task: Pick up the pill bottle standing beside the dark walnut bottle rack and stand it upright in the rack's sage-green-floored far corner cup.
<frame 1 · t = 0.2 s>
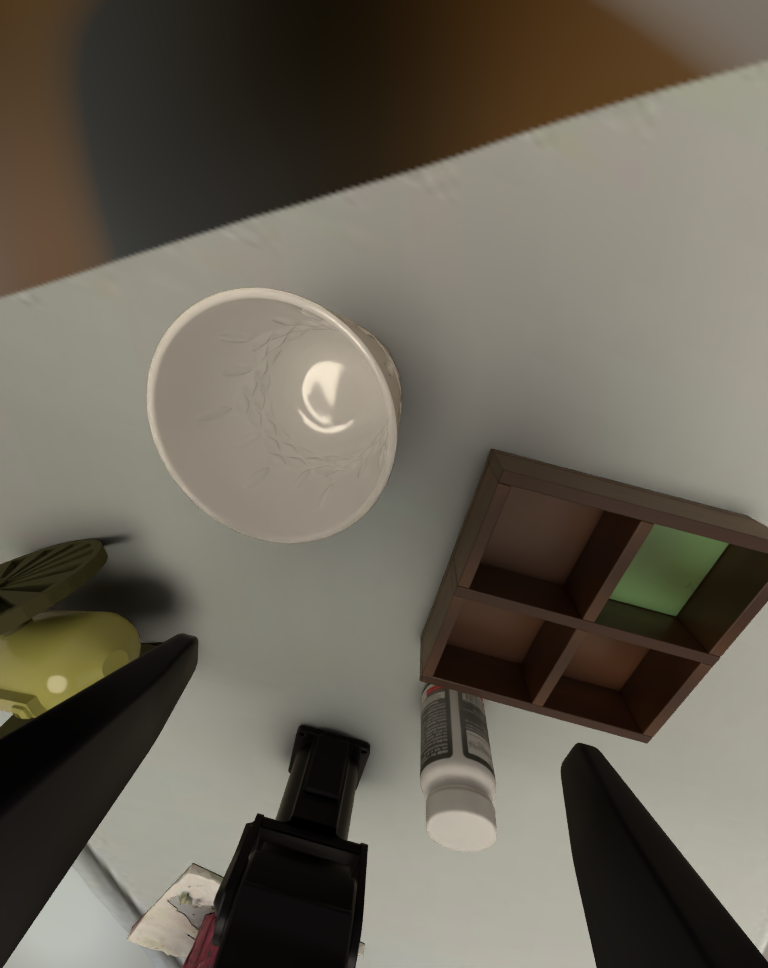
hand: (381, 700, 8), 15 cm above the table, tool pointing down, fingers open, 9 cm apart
white cup: (342, 389, 20), on the table
rack: (563, 585, 23), on the table
pill bottle: (451, 696, 28), on the table
potted flower: (240, 933, 50), on the table
cannon: (56, 605, 30), on the table
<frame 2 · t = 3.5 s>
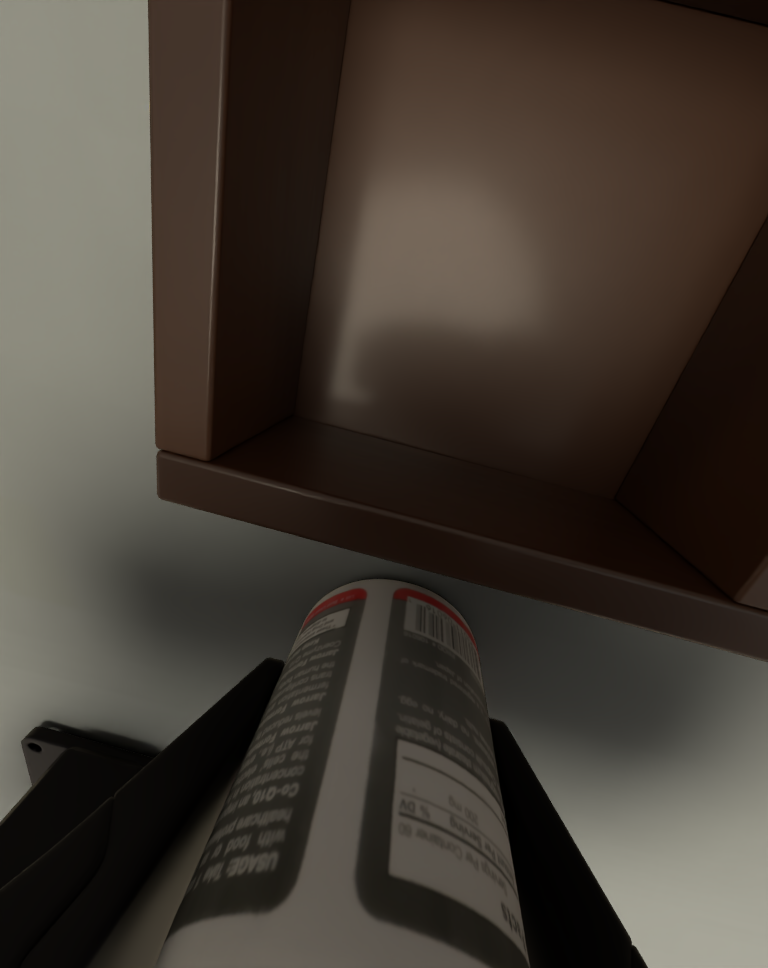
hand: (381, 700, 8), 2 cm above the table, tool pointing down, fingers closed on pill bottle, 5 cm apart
pill bottle: (389, 639, 10), on the table, touching gripper
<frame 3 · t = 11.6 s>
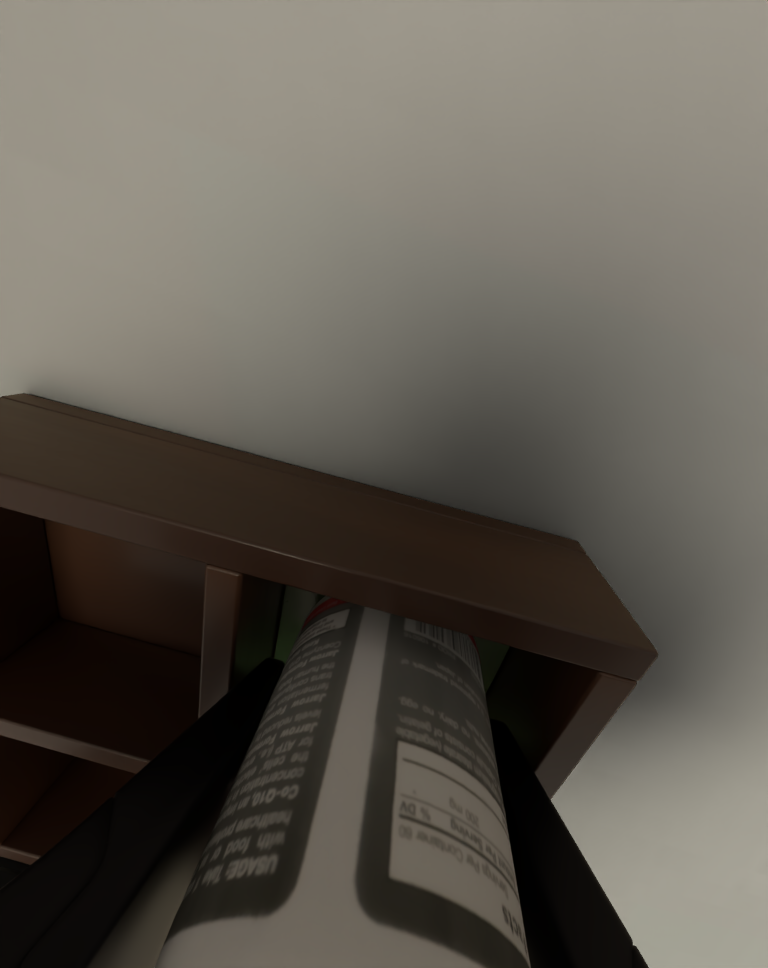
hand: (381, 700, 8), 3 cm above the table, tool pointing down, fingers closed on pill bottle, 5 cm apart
rack: (267, 665, 12), on the table
pill bottle: (389, 640, 10), point 1 cm above the table, touching gripper
when the fingers open (4 cm above the table, at t = 16.8 s): pill bottle drops 2 cm, resting on rack.
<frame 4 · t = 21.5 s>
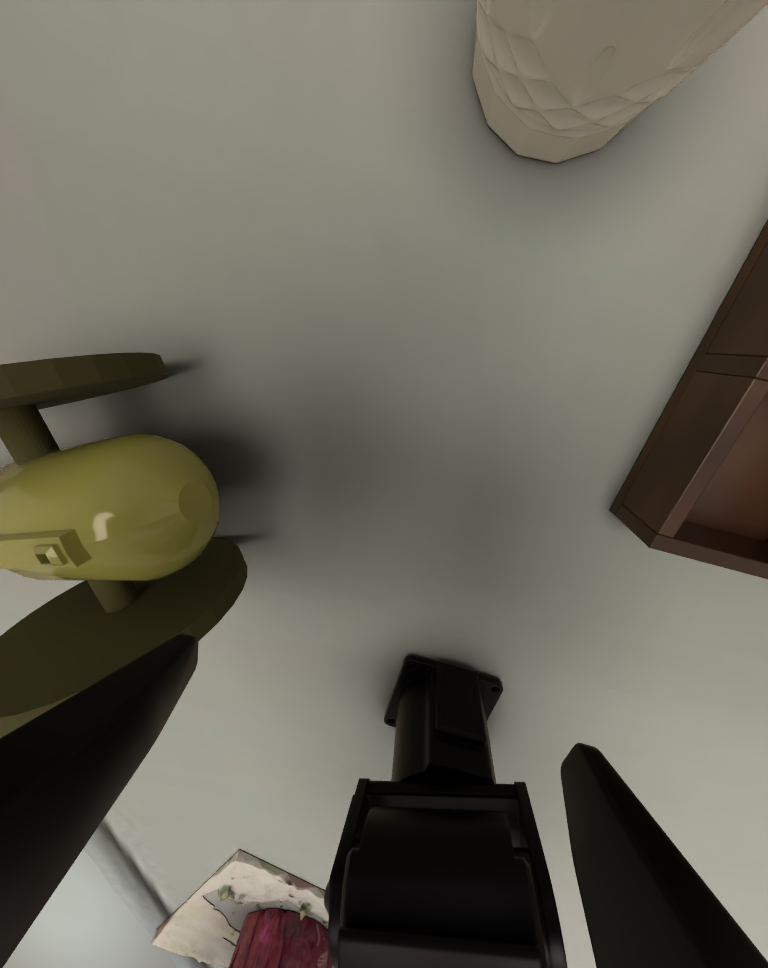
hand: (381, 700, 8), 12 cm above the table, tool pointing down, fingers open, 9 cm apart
white cup: (569, 46, 13), on the table
potted flower: (288, 936, 42), on the table
cannon: (83, 485, 22), on the table
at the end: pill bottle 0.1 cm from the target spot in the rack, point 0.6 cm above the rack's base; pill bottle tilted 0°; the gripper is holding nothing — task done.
